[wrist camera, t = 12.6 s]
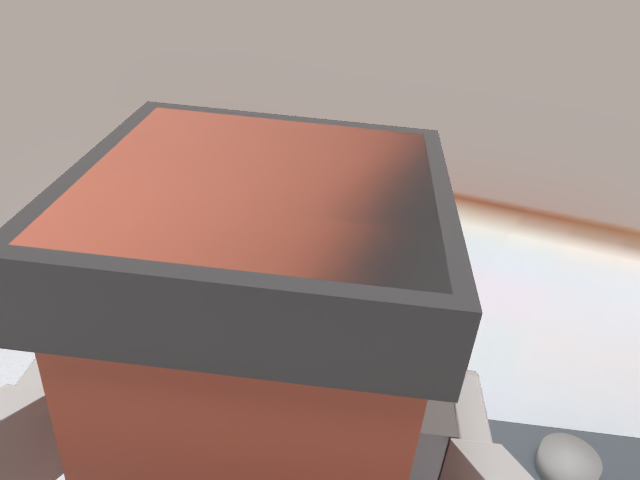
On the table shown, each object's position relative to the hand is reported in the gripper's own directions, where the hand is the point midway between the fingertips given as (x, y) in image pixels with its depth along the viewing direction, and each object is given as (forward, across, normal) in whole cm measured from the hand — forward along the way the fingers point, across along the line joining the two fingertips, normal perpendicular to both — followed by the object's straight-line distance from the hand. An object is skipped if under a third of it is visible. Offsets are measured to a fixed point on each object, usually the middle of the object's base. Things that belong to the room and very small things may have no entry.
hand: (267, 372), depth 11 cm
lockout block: (-1, 0, +6) cm, 6 cm away
